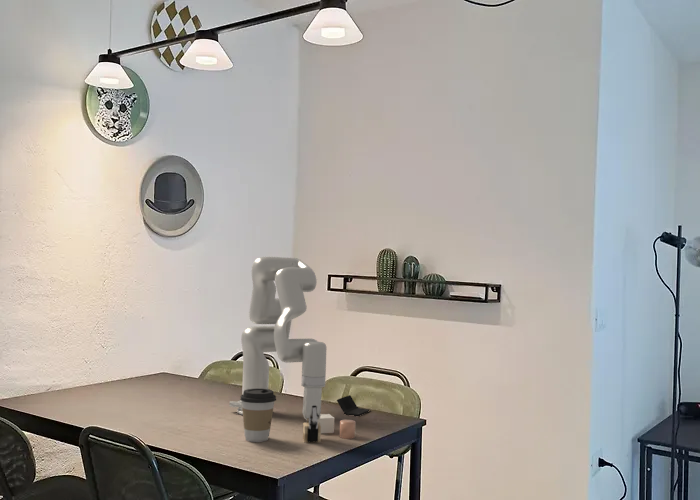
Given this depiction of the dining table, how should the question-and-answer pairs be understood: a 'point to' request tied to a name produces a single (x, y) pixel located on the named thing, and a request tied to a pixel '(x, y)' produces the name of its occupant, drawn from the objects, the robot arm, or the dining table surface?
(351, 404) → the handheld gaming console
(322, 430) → the white block
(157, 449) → the dining table surface
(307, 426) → the maple cube
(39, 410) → the dining table surface
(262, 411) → the coffee cup
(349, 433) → the terracotta cylinder
